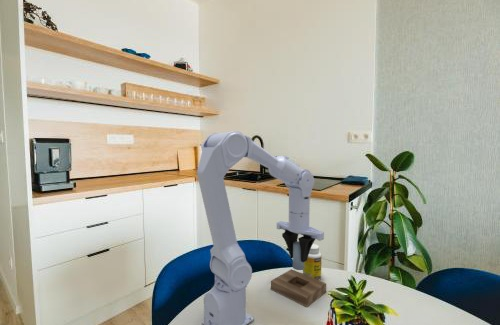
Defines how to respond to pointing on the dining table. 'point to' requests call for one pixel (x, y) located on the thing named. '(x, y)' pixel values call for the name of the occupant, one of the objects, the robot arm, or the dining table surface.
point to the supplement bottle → (313, 263)
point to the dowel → (297, 256)
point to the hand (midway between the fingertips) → (298, 258)
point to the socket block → (298, 287)
